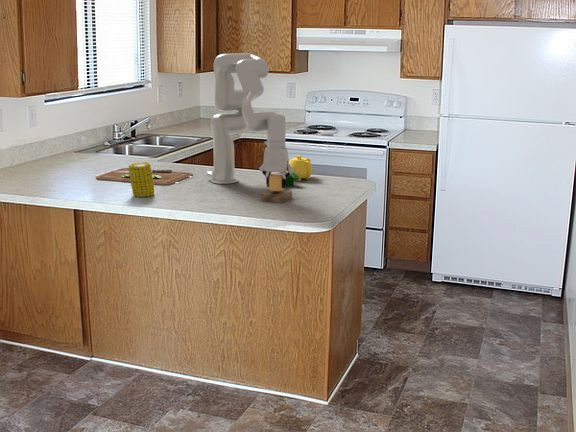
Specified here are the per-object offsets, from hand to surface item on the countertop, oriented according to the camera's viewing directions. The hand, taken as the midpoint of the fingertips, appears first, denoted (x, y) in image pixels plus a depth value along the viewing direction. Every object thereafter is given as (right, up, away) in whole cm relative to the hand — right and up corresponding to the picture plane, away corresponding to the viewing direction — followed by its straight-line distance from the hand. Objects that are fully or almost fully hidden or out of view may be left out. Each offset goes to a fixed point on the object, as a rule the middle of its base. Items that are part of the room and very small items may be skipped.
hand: (276, 186), depth 316 cm
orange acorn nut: (0, -1, 0) cm, 1 cm away
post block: (0, -5, +1) cm, 5 cm away
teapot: (+9, +5, +42) cm, 43 cm away
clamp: (+3, +1, +26) cm, 26 cm away
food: (-58, -4, +8) cm, 59 cm away
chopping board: (-64, +6, +45) cm, 79 cm away
